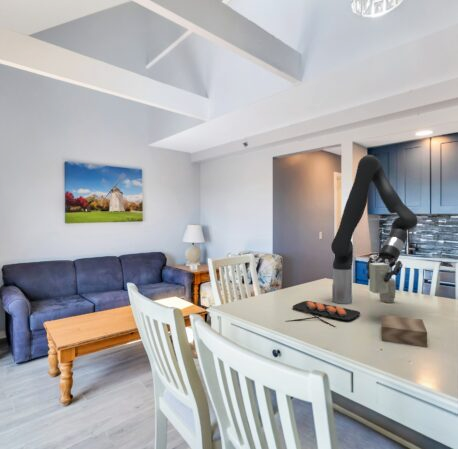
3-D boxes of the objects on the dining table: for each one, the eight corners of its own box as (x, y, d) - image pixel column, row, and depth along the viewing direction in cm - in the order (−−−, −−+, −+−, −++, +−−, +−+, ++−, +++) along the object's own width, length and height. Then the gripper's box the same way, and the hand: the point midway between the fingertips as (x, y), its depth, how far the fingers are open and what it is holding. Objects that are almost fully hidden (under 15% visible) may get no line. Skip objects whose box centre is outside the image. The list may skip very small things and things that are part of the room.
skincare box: (383, 290, 136) (383, 262, 135) (388, 293, 132) (388, 264, 131) (368, 290, 136) (368, 262, 135) (373, 293, 132) (373, 264, 131)
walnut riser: (381, 340, 114) (381, 326, 114) (381, 327, 126) (381, 314, 126) (427, 346, 108) (427, 332, 108) (422, 332, 120) (422, 319, 120)
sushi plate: (362, 316, 142) (362, 307, 141) (331, 335, 120) (331, 325, 120) (305, 303, 162) (305, 296, 162) (270, 318, 141) (270, 310, 141)
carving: (395, 304, 157) (395, 280, 156) (378, 302, 160) (378, 278, 160) (396, 300, 162) (396, 277, 162) (379, 299, 166) (379, 276, 165)
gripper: (372, 242, 143) (357, 271, 137) (405, 245, 131) (390, 277, 125) (379, 253, 146) (364, 282, 140) (411, 257, 134) (396, 288, 128)
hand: (376, 279), depth 133 cm, fingers closed on skincare box, 7 cm apart
